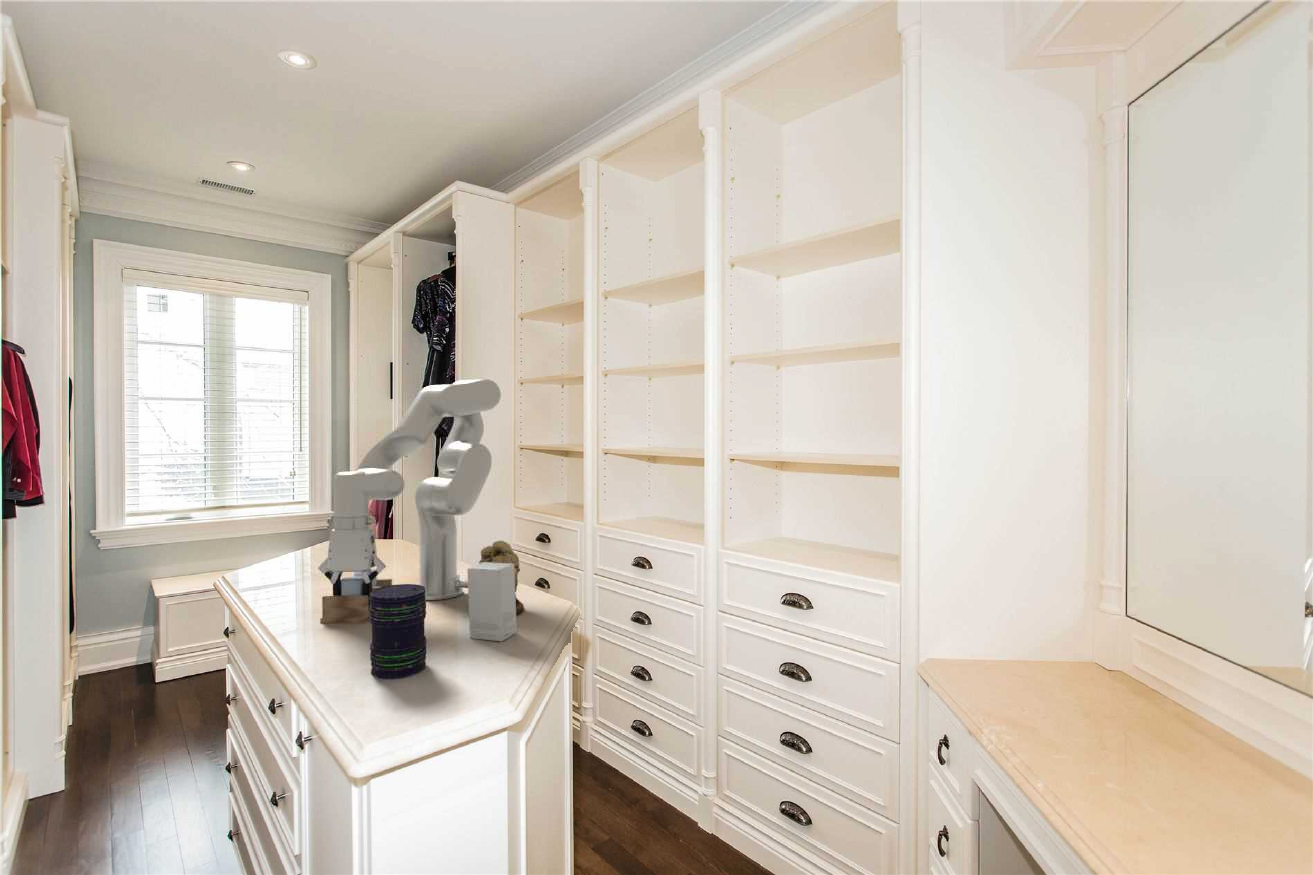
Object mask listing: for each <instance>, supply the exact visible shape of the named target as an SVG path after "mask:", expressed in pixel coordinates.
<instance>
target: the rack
mask: <svg viewBox="0 0 1313 875" xmlns="http://www.w3.org/2000/svg"><path fill="white" fill-rule="evenodd" d="M390 585H393V578H377V587H372V591H373V590H375V589H377V588H381V587H385V586H390ZM321 598H322V599H321V602H322V604H321V606H322V607H321V608H322V610H321V611H322V612H321V613H322V614H321V615H322V616H321V617H320V620H319V623H320V624H324V623H325V624H327V623H328V624H330V622H331V624H335V623H336V622H339V623H342V624H343V622H345V623H370V606H371V605H370V601H371V598H370V597H369V598H368V595H357V596H333V595H323V596H322V597H321ZM339 623H338V624H339ZM336 624H337V623H336Z"/></svg>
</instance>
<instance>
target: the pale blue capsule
mask: <svg viewBox="0 0 1313 875" xmlns="http://www.w3.org/2000/svg"><path fill="white" fill-rule="evenodd" d="M374 570H375V569H373V568H371V571H372V572H373V571H374ZM355 576H360V577H363V576H362V574H361V572H353V577H355ZM377 576H378V575H377ZM377 576H376V577H375V578H374V579H373V580H372V587H377V579H378V577H377Z"/></svg>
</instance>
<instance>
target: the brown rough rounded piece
mask: <svg viewBox="0 0 1313 875" xmlns="http://www.w3.org/2000/svg"><path fill="white" fill-rule="evenodd" d="M519 559H520V558H519V556H518V554H517V553H515V551H514V550H513V548H512V546H511V544H510V543H508V542H506V541H504V540H497V541H494V542H493V543H492V545H488V546H486V547H483V548H482V549H481V550H480V560H479V562H478V564H480V563H482V562H492V563H511V564H514V573H515V600H516V617H518V616H520V615H522V614H523V613H524V611H525V610H524V609H525V608H524V603H523V602H521V601H520V600H519V599H518V598H517V594H516V593H517V589H518V588H517V587H518V585H519V580H518V575H519V573H520V571H521V568H520V562H519V561H520V560H519ZM521 613H522V614H521Z"/></svg>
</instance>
